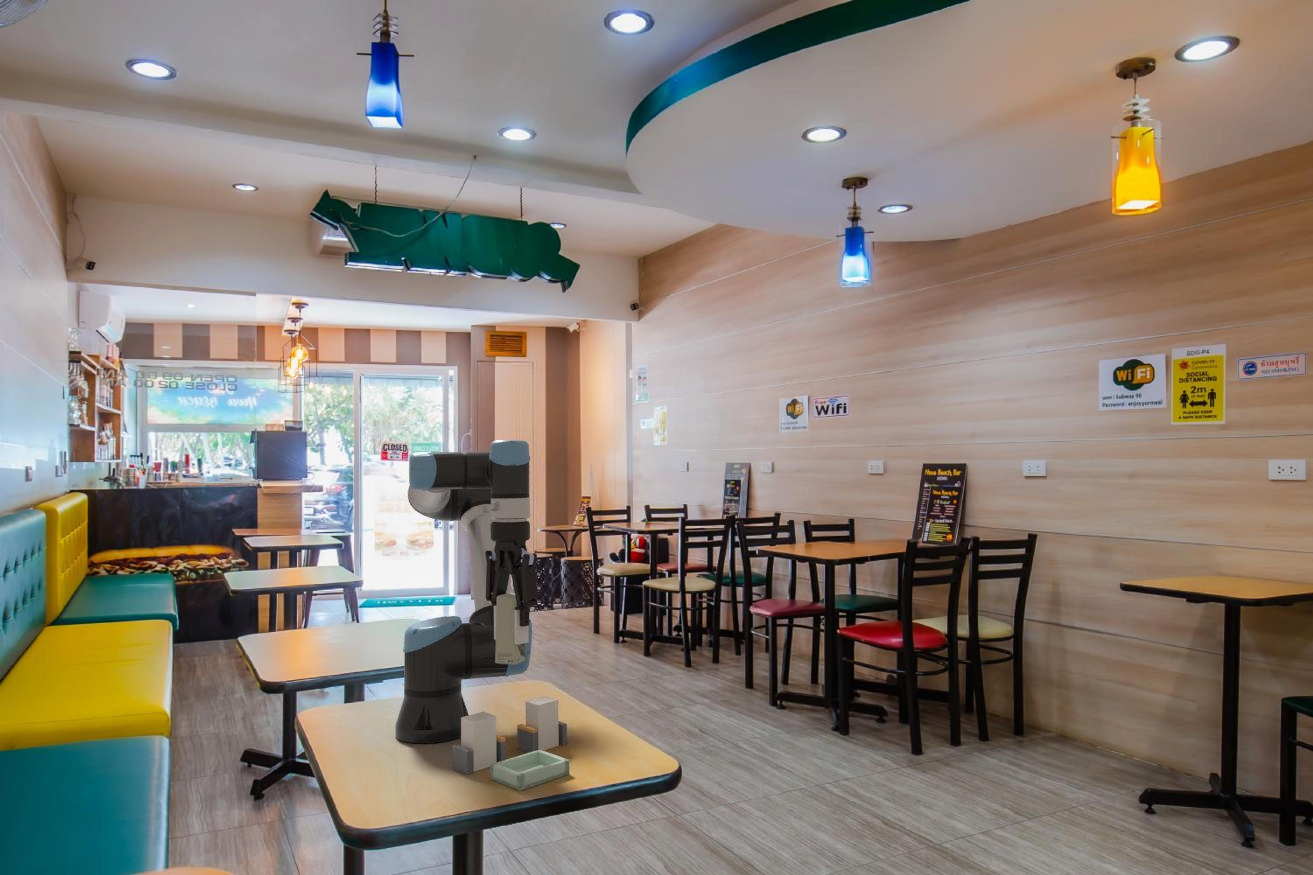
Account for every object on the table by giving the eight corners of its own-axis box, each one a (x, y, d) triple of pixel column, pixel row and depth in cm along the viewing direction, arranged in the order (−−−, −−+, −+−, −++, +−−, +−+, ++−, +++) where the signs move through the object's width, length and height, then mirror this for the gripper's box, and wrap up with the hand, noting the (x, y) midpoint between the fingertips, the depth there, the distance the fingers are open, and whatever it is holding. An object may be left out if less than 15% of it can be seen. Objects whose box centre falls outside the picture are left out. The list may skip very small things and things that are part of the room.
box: (515, 665, 165) (517, 596, 165) (494, 664, 166) (495, 595, 166) (526, 659, 170) (527, 593, 170) (505, 658, 171) (506, 592, 172)
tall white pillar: (525, 747, 173) (525, 701, 173) (546, 741, 176) (545, 696, 176) (538, 751, 170) (538, 704, 170) (558, 745, 173) (558, 699, 174)
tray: (490, 778, 155) (490, 764, 155) (539, 762, 163) (539, 749, 163) (519, 790, 149) (519, 775, 149) (569, 773, 157) (569, 759, 157)
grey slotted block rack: (451, 767, 161) (451, 742, 161) (551, 738, 178) (550, 715, 178) (467, 774, 158) (467, 748, 158) (566, 743, 174) (566, 720, 174)
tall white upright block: (461, 766, 162) (461, 717, 162) (484, 759, 166) (483, 711, 166) (473, 771, 159) (473, 721, 159) (496, 764, 163) (496, 715, 163)
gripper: (466, 519, 173) (466, 637, 172) (524, 523, 160) (525, 650, 159) (497, 517, 178) (498, 631, 177) (556, 520, 165) (557, 644, 164)
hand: (511, 640), depth 168 cm, fingers closed on box, 6 cm apart
